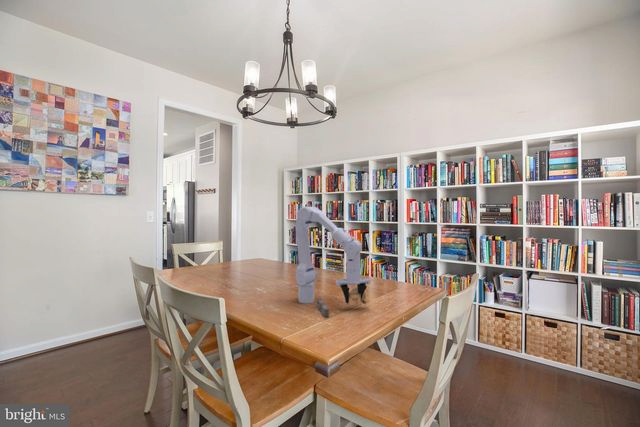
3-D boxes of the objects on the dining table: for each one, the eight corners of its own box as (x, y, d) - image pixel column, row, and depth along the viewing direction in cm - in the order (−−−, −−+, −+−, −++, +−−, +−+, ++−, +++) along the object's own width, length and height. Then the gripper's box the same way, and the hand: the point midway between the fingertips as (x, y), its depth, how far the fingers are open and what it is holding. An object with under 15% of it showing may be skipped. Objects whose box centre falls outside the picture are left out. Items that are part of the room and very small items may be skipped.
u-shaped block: (346, 302, 122) (346, 292, 122) (357, 301, 123) (357, 291, 123) (349, 305, 118) (349, 295, 118) (360, 304, 119) (360, 294, 119)
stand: (308, 308, 126) (308, 298, 126) (326, 307, 127) (326, 296, 127) (317, 324, 108) (317, 312, 108) (338, 322, 110) (338, 310, 110)
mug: (366, 298, 141) (369, 283, 136) (361, 312, 133) (364, 297, 128) (352, 293, 143) (354, 278, 138) (345, 307, 136) (348, 291, 130)
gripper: (339, 272, 115) (339, 306, 115) (373, 270, 118) (373, 303, 118) (334, 268, 122) (334, 301, 122) (366, 267, 125) (366, 298, 125)
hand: (353, 302), depth 120 cm, fingers closed on u-shaped block, 5 cm apart
